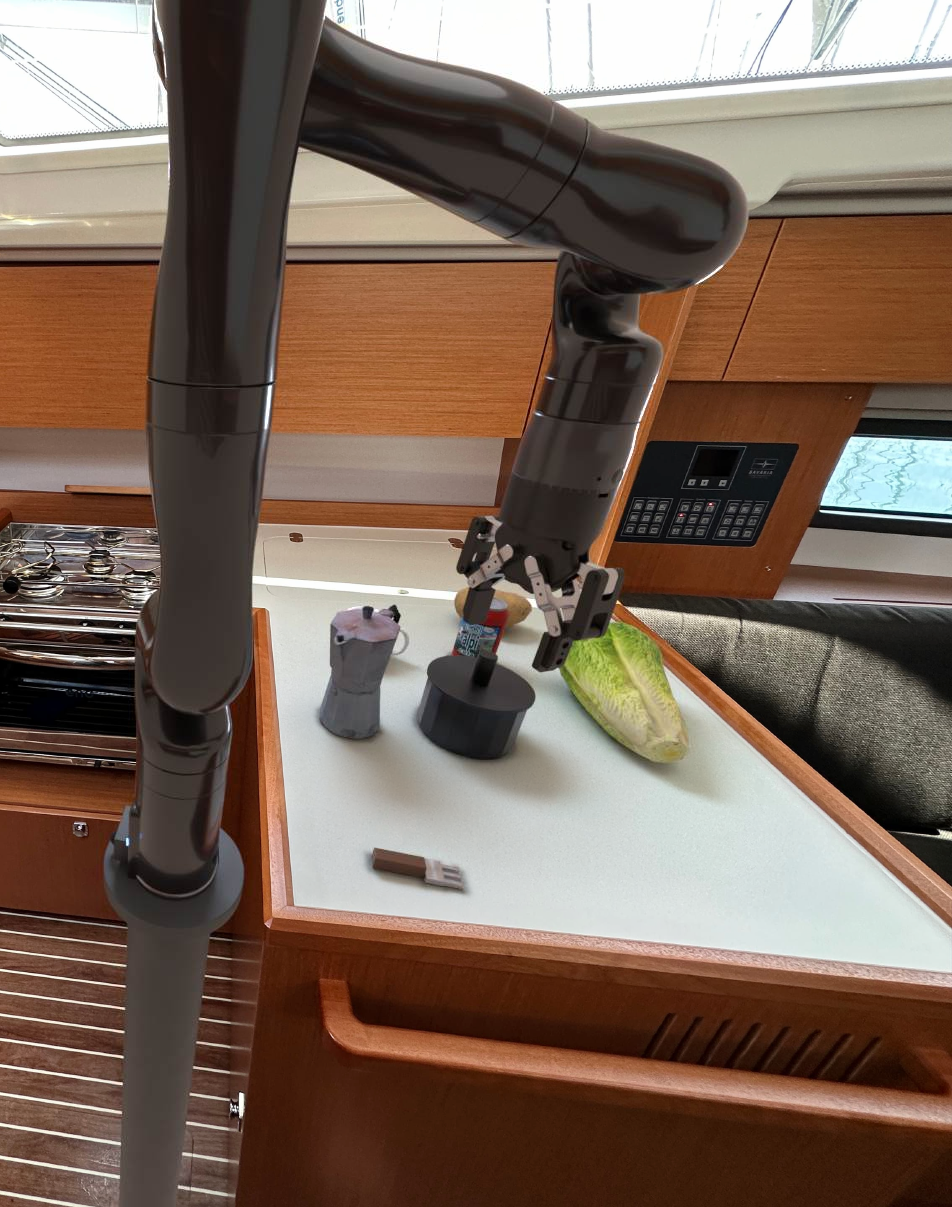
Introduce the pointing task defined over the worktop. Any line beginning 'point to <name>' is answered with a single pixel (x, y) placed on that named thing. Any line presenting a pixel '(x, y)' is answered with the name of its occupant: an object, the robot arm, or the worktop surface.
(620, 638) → the lettuce
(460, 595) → the potato
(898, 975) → the worktop surface
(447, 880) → the fork
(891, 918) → the worktop surface
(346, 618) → the moka pot
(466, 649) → the beverage can
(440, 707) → the pot
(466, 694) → the pot lid
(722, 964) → the worktop surface
